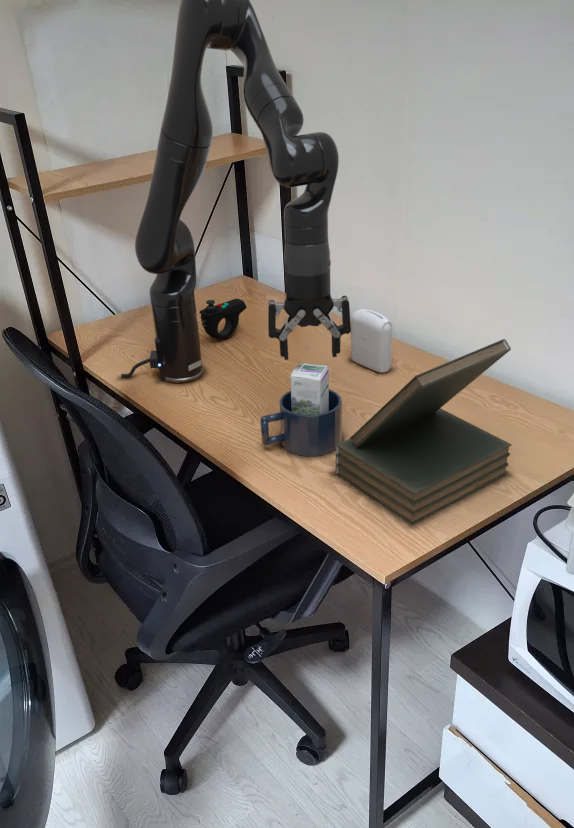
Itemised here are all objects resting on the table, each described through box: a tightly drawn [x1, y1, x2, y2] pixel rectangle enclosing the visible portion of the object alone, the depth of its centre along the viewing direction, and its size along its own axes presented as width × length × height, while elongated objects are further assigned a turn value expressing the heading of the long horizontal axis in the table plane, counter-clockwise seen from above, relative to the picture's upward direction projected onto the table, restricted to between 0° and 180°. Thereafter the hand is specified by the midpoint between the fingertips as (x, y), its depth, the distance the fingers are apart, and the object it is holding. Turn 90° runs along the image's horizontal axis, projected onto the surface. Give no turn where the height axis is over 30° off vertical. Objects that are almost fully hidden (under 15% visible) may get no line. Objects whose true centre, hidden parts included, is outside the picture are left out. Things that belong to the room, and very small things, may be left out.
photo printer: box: [350, 308, 393, 374], centre depth 170 cm, size 10×4×12 cm, turn 39°
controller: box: [199, 298, 247, 341], centre depth 186 cm, size 4×12×10 cm, turn 133°
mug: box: [259, 388, 343, 457], centre depth 146 cm, size 16×11×8 cm
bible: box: [335, 338, 513, 526], centre depth 131 cm, size 23×20×25 cm
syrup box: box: [290, 362, 330, 415], centre depth 144 cm, size 6×6×14 cm
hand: (310, 356), depth 138 cm, fingers open, 8 cm apart
